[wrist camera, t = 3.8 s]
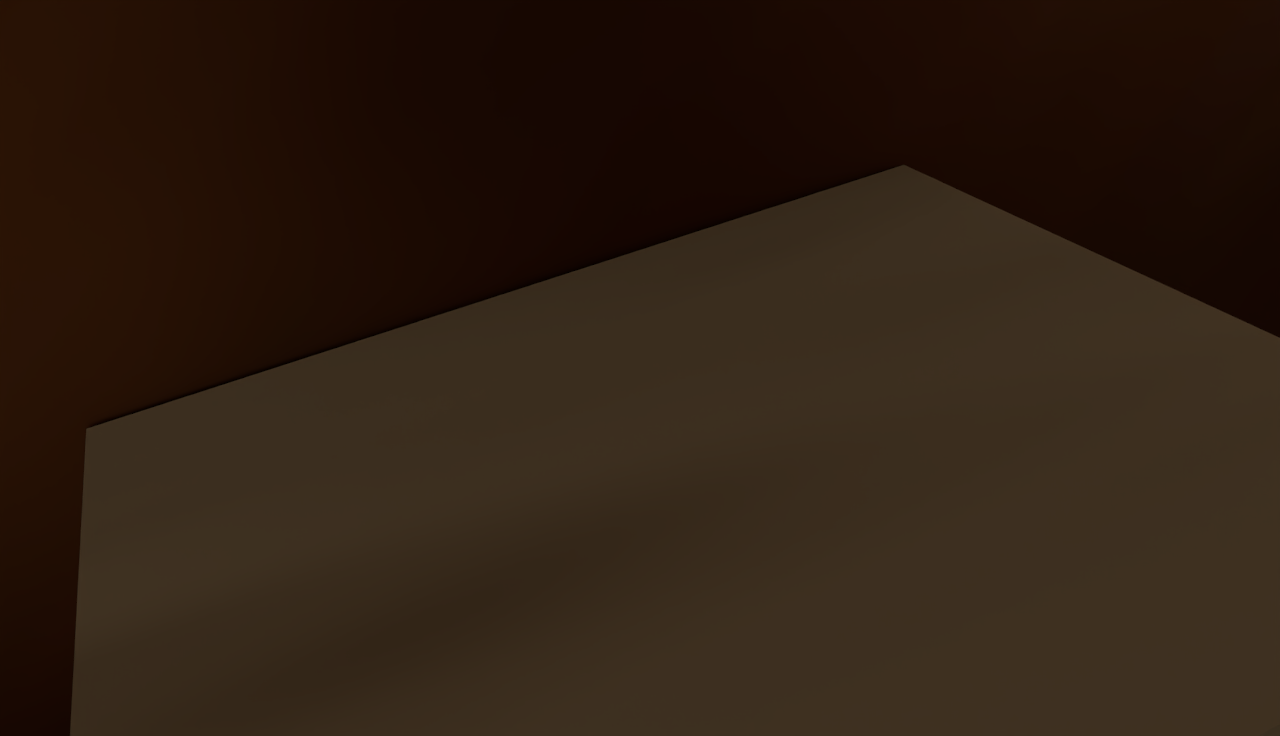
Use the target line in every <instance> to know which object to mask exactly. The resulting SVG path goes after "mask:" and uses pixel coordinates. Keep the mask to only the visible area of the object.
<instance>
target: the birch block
mask: <svg viewBox="0 0 1280 736" xmlns="http://www.w3.org/2000/svg"><path fill="white" fill-rule="evenodd" d="M70 736H1280V338H1279V337H1277V336H1275V335H1272V334H1270V333H1268V332H1266V331H1264V330H1262V329H1259V328H1257V327H1255V326H1253V325H1251V324H1249V323H1246V322H1244V321H1242V320H1240V319H1238V318H1236V317H1233V316H1231V315H1229V314H1227V313H1225V312H1222V311H1220V310H1218V309H1216V308H1214V307H1212V306H1209V305H1207V304H1205V303H1203V302H1201V301H1199V300H1196V299H1194V298H1192V297H1190V296H1188V295H1186V294H1183V293H1181V292H1179V291H1177V290H1175V289H1173V288H1170V287H1168V286H1166V285H1164V284H1162V283H1160V282H1157V281H1155V280H1153V279H1151V278H1149V277H1147V276H1144V275H1142V274H1140V273H1138V272H1136V271H1133V270H1131V269H1129V268H1127V267H1125V266H1123V265H1120V264H1118V263H1116V262H1114V261H1112V260H1110V259H1107V258H1105V257H1103V256H1101V255H1099V254H1097V253H1094V252H1092V251H1090V250H1088V249H1086V248H1084V247H1081V246H1079V245H1077V244H1075V243H1073V242H1071V241H1068V240H1066V239H1064V238H1062V237H1060V236H1057V235H1055V234H1053V233H1051V232H1049V231H1047V230H1044V229H1042V228H1040V227H1038V226H1036V225H1034V224H1031V223H1029V222H1027V221H1025V220H1023V219H1021V218H1018V217H1016V216H1014V215H1012V214H1010V213H1008V212H1005V211H1003V210H1001V209H999V208H997V207H995V206H992V205H990V204H988V203H986V202H984V201H982V200H979V199H977V198H975V197H973V196H971V195H968V194H966V193H964V192H962V191H960V190H958V189H955V188H953V187H951V186H949V185H947V184H945V183H942V182H940V181H938V180H936V179H934V178H932V177H929V176H927V175H925V174H923V173H921V172H919V171H916V170H914V169H912V168H910V167H908V166H906V165H902V166H899V167H895V168H892V169H889V170H886V171H883V172H880V173H877V174H874V175H871V176H868V177H864V178H861V179H858V180H855V181H852V182H849V183H846V184H843V185H840V186H837V187H834V188H830V189H827V190H824V191H821V192H818V193H815V194H812V195H809V196H806V197H803V198H799V199H796V200H793V201H790V202H787V203H784V204H781V205H778V206H775V207H772V208H768V209H765V210H762V211H759V212H756V213H753V214H750V215H747V216H744V217H741V218H738V219H734V220H731V221H728V222H725V223H722V224H719V225H716V226H713V227H710V228H707V229H703V230H700V231H697V232H694V233H691V234H688V235H685V236H682V237H679V238H676V239H673V240H669V241H666V242H663V243H660V244H657V245H654V246H651V247H648V248H645V249H642V250H638V251H635V252H632V253H629V254H626V255H623V256H620V257H617V258H614V259H611V260H607V261H604V262H601V263H598V264H595V265H592V266H589V267H586V268H583V269H580V270H577V271H573V272H570V273H567V274H564V275H561V276H558V277H555V278H552V279H549V280H546V281H542V282H539V283H536V284H533V285H530V286H527V287H524V288H521V289H518V290H515V291H511V292H508V293H505V294H502V295H499V296H496V297H493V298H490V299H487V300H484V301H481V302H477V303H474V304H471V305H468V306H465V307H462V308H459V309H456V310H453V311H450V312H446V313H443V314H440V315H437V316H434V317H431V318H428V319H425V320H422V321H419V322H416V323H412V324H409V325H406V326H403V327H400V328H397V329H394V330H391V331H388V332H385V333H381V334H378V335H375V336H372V337H369V338H366V339H363V340H360V341H357V342H354V343H350V344H347V345H344V346H341V347H338V348H335V349H332V350H329V351H326V352H323V353H320V354H316V355H313V356H310V357H307V358H304V359H301V360H298V361H295V362H292V363H289V364H285V365H282V366H279V367H276V368H273V369H270V370H267V371H264V372H261V373H258V374H254V375H251V376H248V377H245V378H242V379H239V380H236V381H233V382H230V383H227V384H224V385H220V386H217V387H214V388H211V389H208V390H205V391H202V392H199V393H196V394H193V395H189V396H186V397H183V398H180V399H177V400H174V401H171V402H168V403H165V404H162V405H158V406H155V407H152V408H149V409H146V410H143V411H140V412H137V413H134V414H131V415H128V416H124V417H121V418H118V419H115V420H112V421H109V422H106V423H103V424H100V425H97V426H93V427H90V428H87V429H86V444H85V462H84V481H83V500H82V519H81V538H80V557H79V575H78V594H77V613H76V632H75V651H74V670H73V688H72V707H71V726H70Z"/></svg>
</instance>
